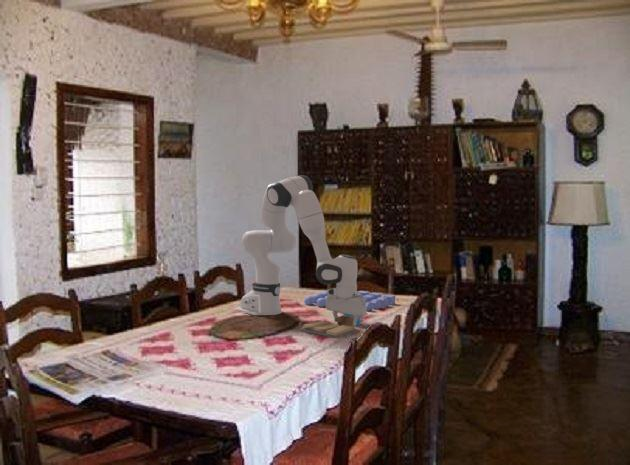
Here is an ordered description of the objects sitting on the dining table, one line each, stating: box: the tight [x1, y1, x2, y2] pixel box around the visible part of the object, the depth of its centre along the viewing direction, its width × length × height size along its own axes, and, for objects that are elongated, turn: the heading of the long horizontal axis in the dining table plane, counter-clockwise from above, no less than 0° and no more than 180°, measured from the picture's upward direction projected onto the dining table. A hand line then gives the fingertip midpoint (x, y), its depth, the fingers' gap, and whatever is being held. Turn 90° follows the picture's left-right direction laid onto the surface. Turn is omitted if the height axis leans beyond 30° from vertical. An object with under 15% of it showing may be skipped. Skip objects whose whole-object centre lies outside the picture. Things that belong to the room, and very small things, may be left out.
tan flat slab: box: [302, 319, 340, 333], centre depth 296 cm, size 11×12×1 cm
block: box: [337, 314, 354, 328], centre depth 302 cm, size 5×5×5 cm
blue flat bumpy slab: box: [303, 290, 396, 312], centre depth 354 cm, size 35×34×5 cm
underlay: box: [299, 325, 354, 339], centre depth 294 cm, size 18×14×2 cm
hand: (345, 323), depth 302 cm, fingers open, 8 cm apart
